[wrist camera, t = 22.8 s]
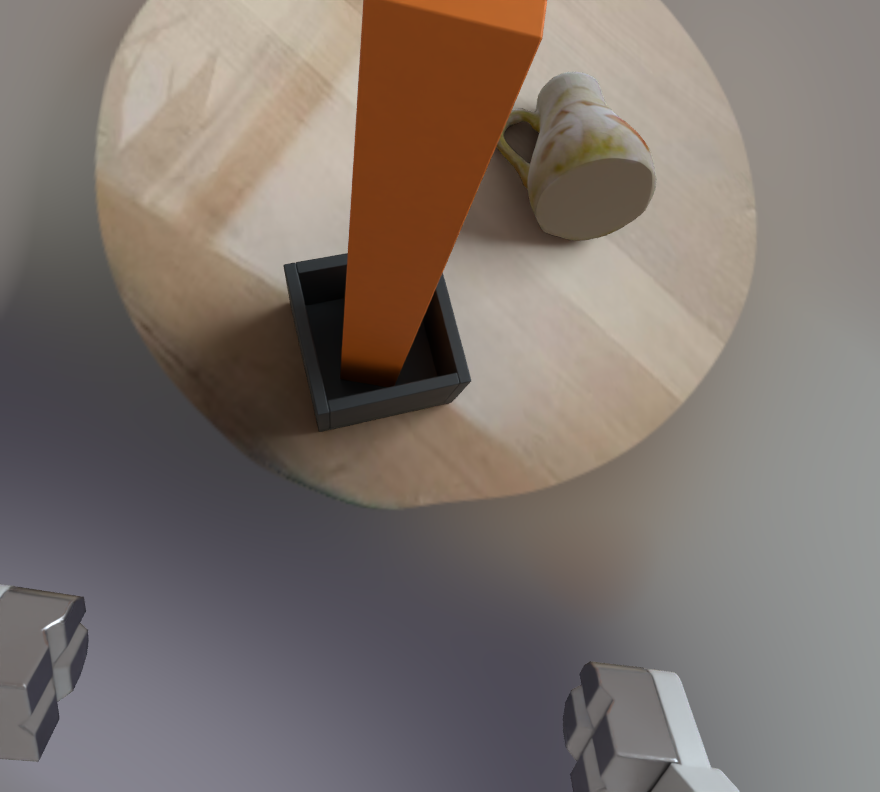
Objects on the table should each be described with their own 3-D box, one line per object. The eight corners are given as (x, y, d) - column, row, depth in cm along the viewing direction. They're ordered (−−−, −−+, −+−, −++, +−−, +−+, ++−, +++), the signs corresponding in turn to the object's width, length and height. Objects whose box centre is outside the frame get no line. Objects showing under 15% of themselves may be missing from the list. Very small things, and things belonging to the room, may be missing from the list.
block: (339, 379, 38) (363, -6, 11) (352, 311, 39) (401, -199, 12) (393, 388, 39) (542, 38, 11) (404, 321, 39) (567, -153, 12)
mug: (601, 92, 45) (708, 71, 37) (569, 241, 48) (662, 256, 39) (501, 62, 43) (590, 32, 34) (472, 222, 45) (548, 233, 36)
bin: (319, 432, 38) (317, 415, 33) (289, 301, 39) (283, 264, 34) (452, 402, 40) (471, 381, 34) (420, 277, 41) (433, 237, 35)
